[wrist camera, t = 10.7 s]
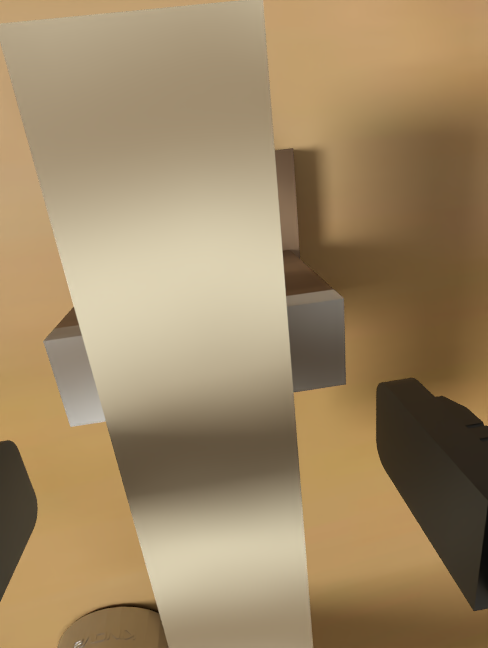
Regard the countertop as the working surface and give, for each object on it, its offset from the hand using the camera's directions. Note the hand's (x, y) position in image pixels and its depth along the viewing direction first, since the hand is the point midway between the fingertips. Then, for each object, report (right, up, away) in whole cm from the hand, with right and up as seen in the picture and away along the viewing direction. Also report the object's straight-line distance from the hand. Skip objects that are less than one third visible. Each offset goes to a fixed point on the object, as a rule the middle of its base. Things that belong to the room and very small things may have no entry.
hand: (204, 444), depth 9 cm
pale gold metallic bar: (0, +1, +4) cm, 4 cm away
